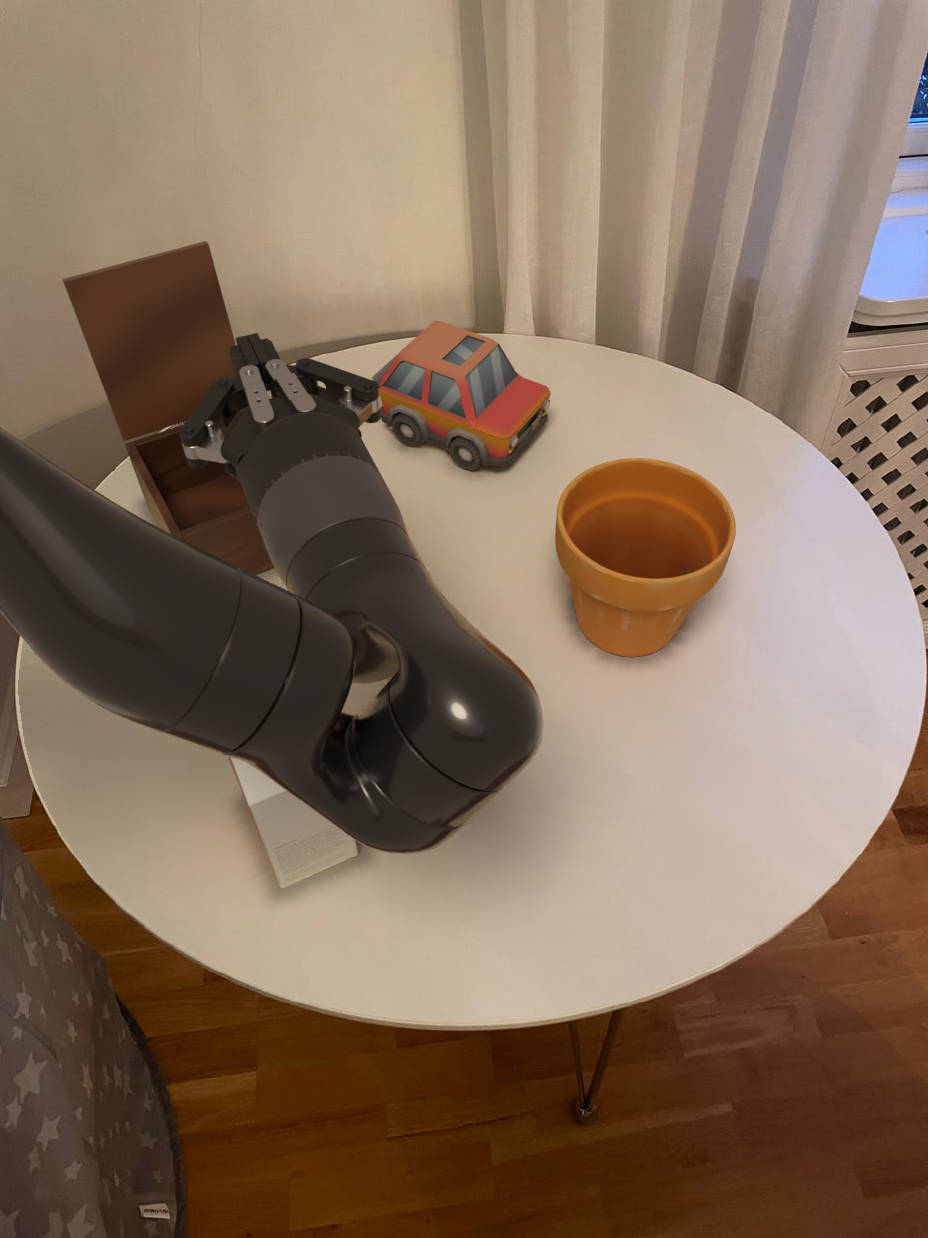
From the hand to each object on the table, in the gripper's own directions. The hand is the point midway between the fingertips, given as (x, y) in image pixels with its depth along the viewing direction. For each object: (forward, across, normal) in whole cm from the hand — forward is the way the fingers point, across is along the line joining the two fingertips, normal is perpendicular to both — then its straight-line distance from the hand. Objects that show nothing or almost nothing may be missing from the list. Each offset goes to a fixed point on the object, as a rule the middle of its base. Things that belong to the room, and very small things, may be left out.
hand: (248, 346), depth 62 cm
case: (+14, +3, +29) cm, 32 cm away
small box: (-20, +6, +29) cm, 36 cm away
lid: (+23, +4, +13) cm, 26 cm away
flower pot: (-11, -27, +29) cm, 41 cm away
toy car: (+20, -24, +29) cm, 42 cm away
